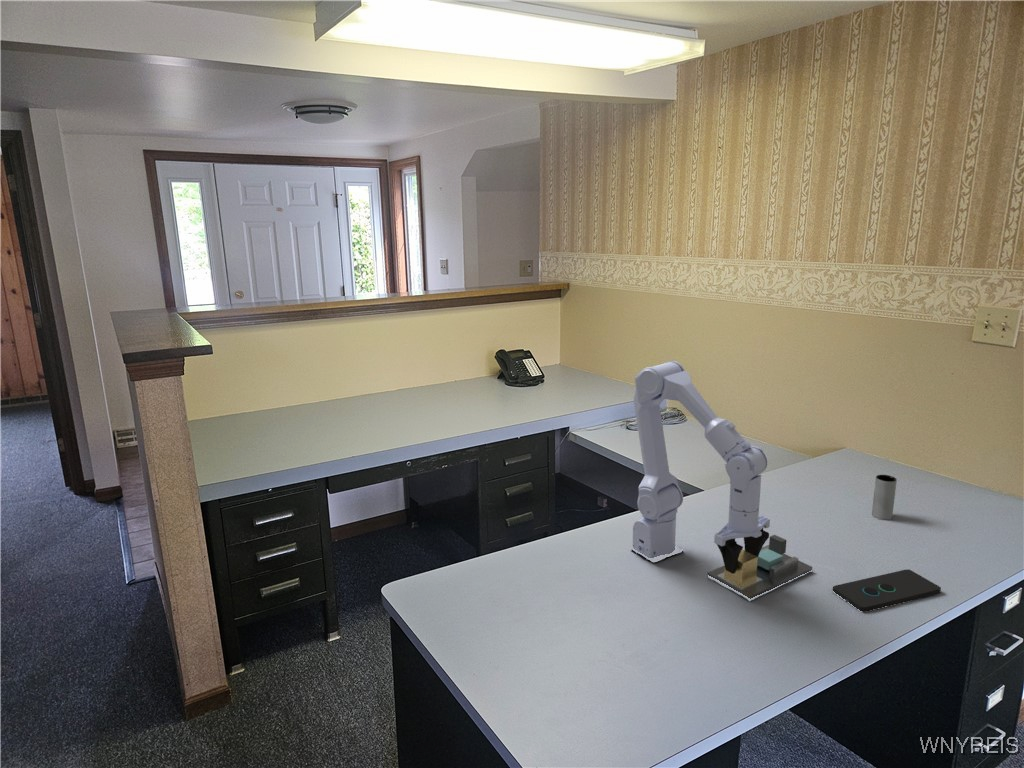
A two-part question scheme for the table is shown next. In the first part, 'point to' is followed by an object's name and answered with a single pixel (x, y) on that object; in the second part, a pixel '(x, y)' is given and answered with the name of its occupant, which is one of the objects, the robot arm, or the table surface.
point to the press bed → (765, 576)
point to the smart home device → (886, 590)
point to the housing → (744, 569)
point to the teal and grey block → (772, 552)
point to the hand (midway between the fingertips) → (740, 566)
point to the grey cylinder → (884, 497)
